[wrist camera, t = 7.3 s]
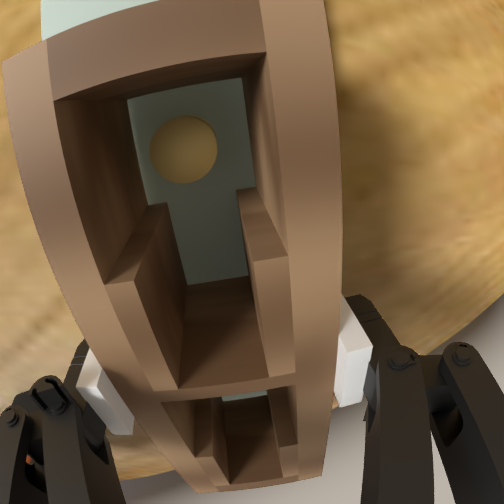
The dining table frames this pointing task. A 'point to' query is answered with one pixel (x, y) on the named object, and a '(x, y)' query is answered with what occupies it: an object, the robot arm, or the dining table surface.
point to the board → (186, 199)
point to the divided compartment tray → (163, 238)
